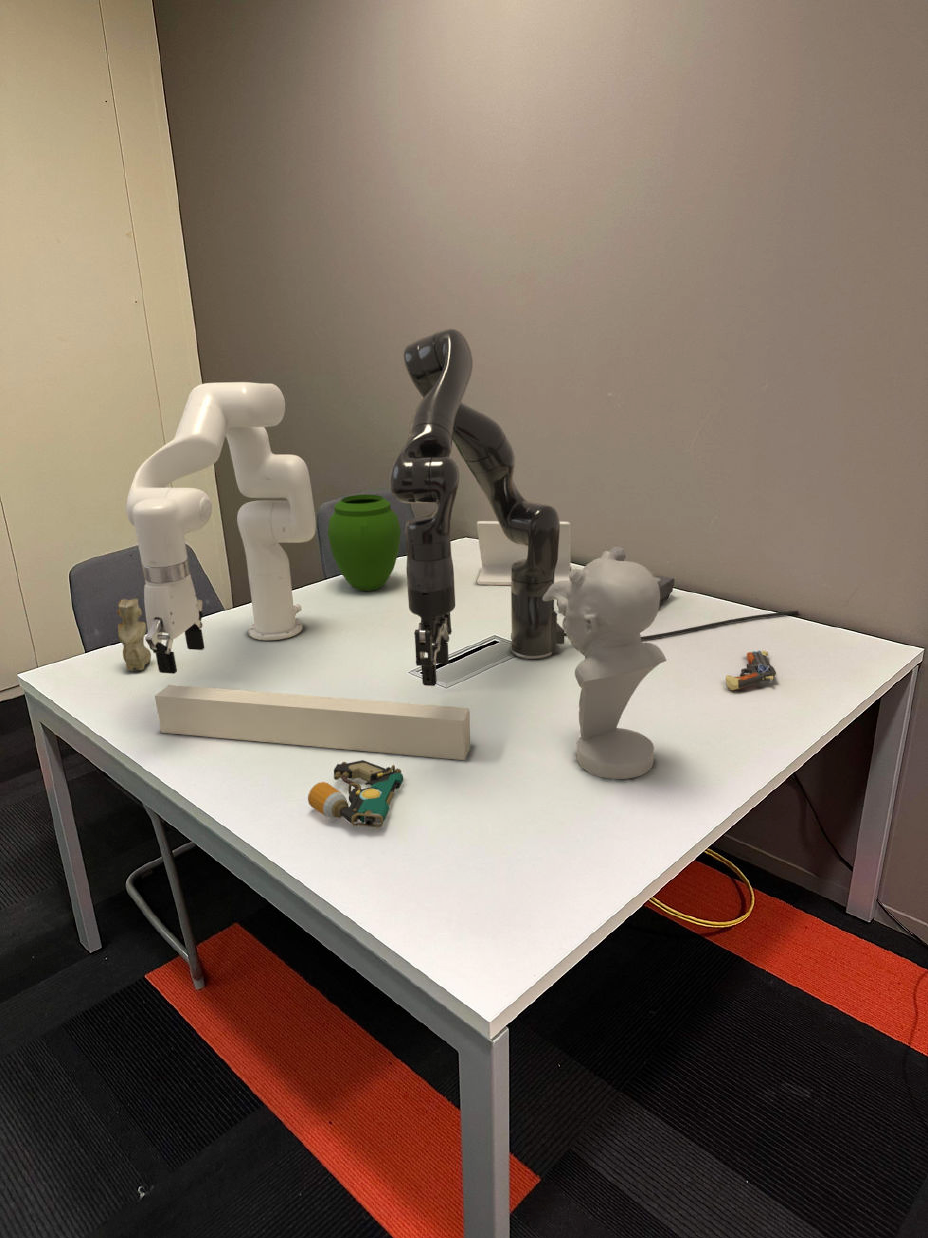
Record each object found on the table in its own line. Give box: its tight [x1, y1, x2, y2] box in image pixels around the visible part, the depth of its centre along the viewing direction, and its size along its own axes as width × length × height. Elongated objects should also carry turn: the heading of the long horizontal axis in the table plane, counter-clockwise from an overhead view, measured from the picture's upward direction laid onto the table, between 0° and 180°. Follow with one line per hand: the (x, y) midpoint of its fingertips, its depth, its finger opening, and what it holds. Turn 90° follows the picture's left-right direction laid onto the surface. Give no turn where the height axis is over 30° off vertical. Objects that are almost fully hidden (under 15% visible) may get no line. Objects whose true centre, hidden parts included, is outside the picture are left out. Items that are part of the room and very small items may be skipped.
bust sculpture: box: [543, 550, 667, 780], centre depth 141 cm, size 16×24×35 cm, turn 28°
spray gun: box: [307, 759, 404, 829], centre depth 133 cm, size 4×17×15 cm
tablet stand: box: [476, 520, 572, 586], centre depth 236 cm, size 18×25×17 cm
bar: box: [154, 684, 472, 761], centre depth 152 cm, size 57×5×8 cm, turn 77°
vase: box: [327, 494, 402, 592], centre depth 229 cm, size 20×20×24 cm
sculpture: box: [116, 597, 152, 672], centre depth 183 cm, size 6×7×15 cm
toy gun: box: [725, 650, 778, 691], centre depth 173 cm, size 3×19×10 cm
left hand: (182, 660), depth 154 cm, fingers open, 9 cm apart
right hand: (436, 673), depth 142 cm, fingers open, 8 cm apart
